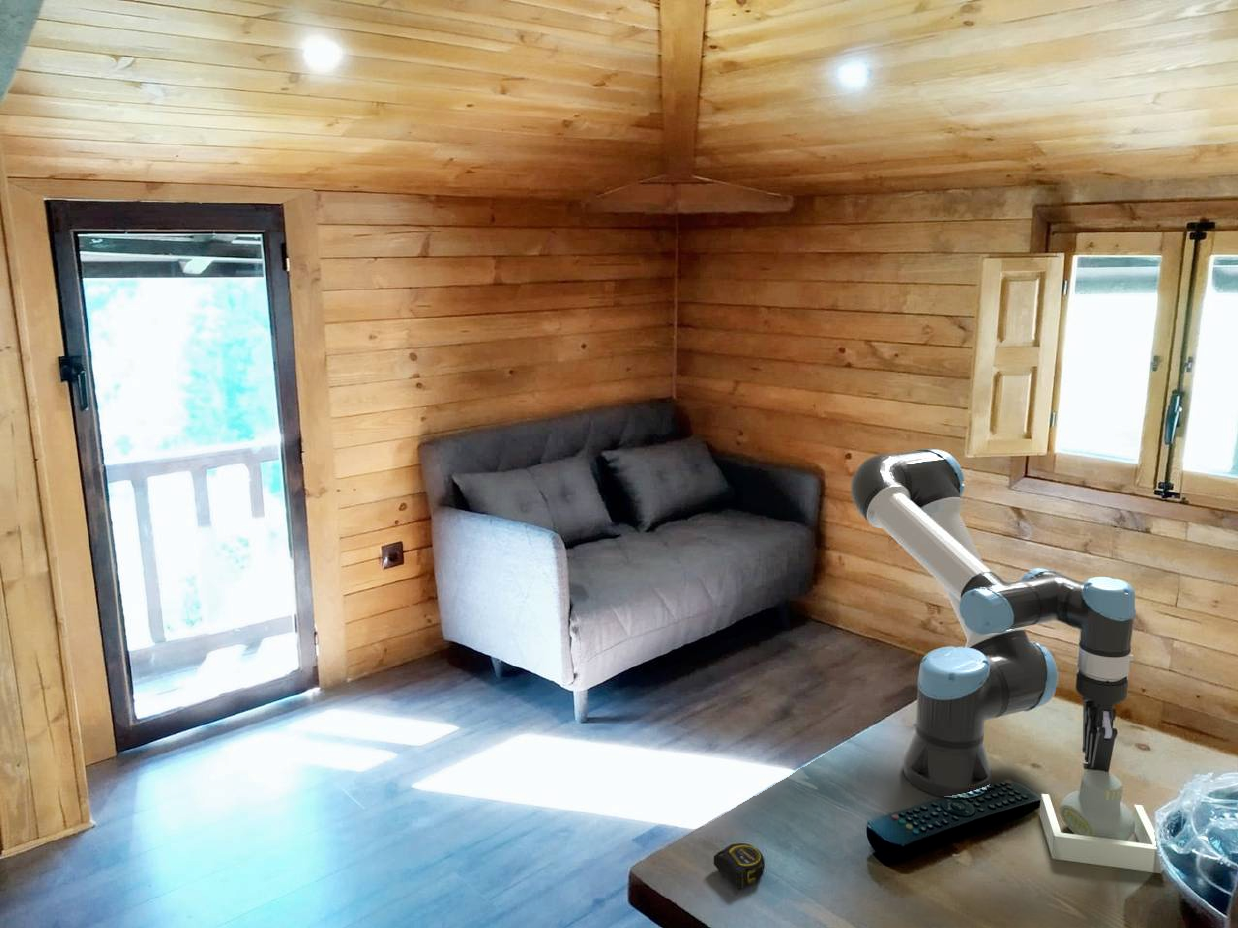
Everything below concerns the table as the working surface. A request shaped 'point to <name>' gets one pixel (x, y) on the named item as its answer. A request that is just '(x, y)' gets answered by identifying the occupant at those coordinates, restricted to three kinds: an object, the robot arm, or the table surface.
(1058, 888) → the table surface
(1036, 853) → the table surface
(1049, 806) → the dock
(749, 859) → the tape measure
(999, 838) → the table surface
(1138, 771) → the table surface
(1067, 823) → the air freshener
